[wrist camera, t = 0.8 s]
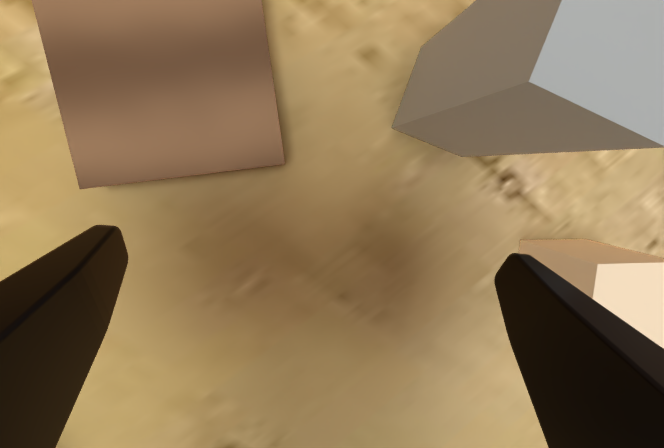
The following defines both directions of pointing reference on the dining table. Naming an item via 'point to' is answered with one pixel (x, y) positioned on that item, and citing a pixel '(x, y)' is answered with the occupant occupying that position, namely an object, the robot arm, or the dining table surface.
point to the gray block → (540, 79)
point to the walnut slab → (161, 87)
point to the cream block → (609, 278)
